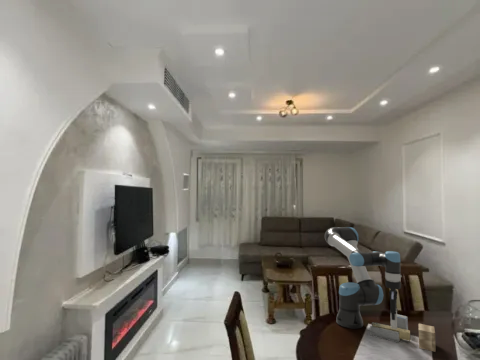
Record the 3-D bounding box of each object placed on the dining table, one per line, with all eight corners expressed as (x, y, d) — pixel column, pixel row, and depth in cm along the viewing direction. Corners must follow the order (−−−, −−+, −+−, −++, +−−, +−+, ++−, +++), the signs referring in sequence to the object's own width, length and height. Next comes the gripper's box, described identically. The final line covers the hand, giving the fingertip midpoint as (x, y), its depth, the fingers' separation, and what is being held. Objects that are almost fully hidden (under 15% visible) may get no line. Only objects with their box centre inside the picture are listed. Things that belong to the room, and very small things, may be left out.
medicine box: (408, 332, 167) (407, 316, 168) (406, 334, 164) (405, 318, 164) (393, 327, 172) (392, 312, 173) (390, 330, 169) (390, 314, 170)
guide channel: (370, 335, 162) (370, 326, 162) (372, 330, 168) (371, 322, 168) (399, 342, 155) (398, 332, 155) (399, 337, 160) (399, 327, 161)
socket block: (419, 347, 149) (418, 329, 150) (418, 340, 157) (418, 323, 157) (435, 351, 145) (435, 333, 146) (434, 344, 153) (434, 326, 154)
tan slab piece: (372, 332, 163) (372, 306, 164) (373, 329, 166) (373, 304, 167) (409, 340, 153) (409, 313, 154) (410, 337, 157) (409, 311, 158)
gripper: (400, 285, 152) (400, 331, 151) (401, 278, 166) (402, 320, 164) (384, 282, 156) (384, 328, 154) (386, 276, 170) (387, 317, 168)
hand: (393, 324), depth 159 cm, fingers closed on tan slab piece, 3 cm apart
